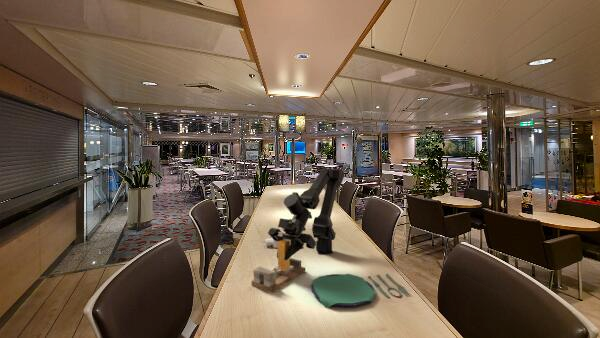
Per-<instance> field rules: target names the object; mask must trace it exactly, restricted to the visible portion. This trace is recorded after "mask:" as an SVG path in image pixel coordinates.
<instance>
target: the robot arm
mask: <svg viewBox="0 0 600 338" xmlns="http://www.w3.org/2000/svg"><path fill="white" fill-rule="evenodd" d="M344 178H345V172H344V171H343V170H342V169H341V168H320V170H319V173H318V175H317V176H316V178H315V179H314V181H313V182H312V184H311V186H310V187H309V188H308V189H306V190H304V191H303V192H301V195H300V194H299V193H298V192H295V191H292V193H291V194H289V195H287V196H286V197H285V198H284V200H283V205H284V206H285V207H286V208H287V211H289V213H290V214H291V215H293V216H292V219H291V218H289V219H287V218H286V219H285V218H279V221H278V226H277V228H276V227H271V228H269V230H268V232H267V234H268V236H269V237H270V238H271V237H272V239H273V240H275V241H281V240H287V239H288V240H291V244H290V247H289V249H288V251H287V253H286V255H285V258H284V259H285V260H287V259H289V258H292V256H293V255H294V254H296V253H297V252H299V251H300V250H303V249H304V248H305V247H304V245H306V248H307V249H313V250H314V249H315V251H316V252H317V254H318V255H324V254H326V255H328V254H334V252H333V241H334V240H335V239H336V232H335V230H334V228H333V224H334V223H333V222H332V219H331V217H332V212H333V208H334V204H335V199H336V195H337V190H338V188H339V187H340V186H341V185H342V183H343V180H344ZM325 187H326V188H325ZM324 189H325V192H324V196H323V200H322V204H321V209H320V213H319V215H318V216H315V217H314V219H313V216H312V212H311V211H309V210H316V209H317V208H318V205H319V203H320V195H321V194H322V192H323V190H324ZM309 219H311V220H312V219H313V223H312V227H311V231H312V235H311V234H309V233H304V232H306V230H307V229H306V225H307V223H308V221H309ZM280 228H281V229H282V231H283V232H282V231H281V229H280ZM315 239H316V241H315ZM276 258H277V259H278V250H277V254H276Z"/></svg>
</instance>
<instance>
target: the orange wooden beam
mask: <svg viewBox="0 0 600 338" xmlns="http://www.w3.org/2000/svg"><path fill="white" fill-rule="evenodd" d="M289 247H290V241H288V240H281V241H278V248H277V251H278V258H277V266H274V268H273V269H274V271H275V276H276V275H277V274H283V275H287V274H288V273H290V272H292V271H293V270H294V266H291V265H290V258H291V257H290V258H289V259H287V260H285V259H284V258H285V255H286V253H287V251H288V249H289Z"/></svg>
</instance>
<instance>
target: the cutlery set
mask: <svg viewBox="0 0 600 338" xmlns="http://www.w3.org/2000/svg"><path fill="white" fill-rule="evenodd" d="M376 277H377V278H378V279H379V280H380V281H381V282H382V283H383V284H385V286H386V287H387V291H388V293H390V295H392V296H394V297H396V298H397V297H401V296H402V295H404V296H405V297H412V294H410V293H409V292H408V291H407V289H406V287H405V286H402V285H401V284H398V282H396V281H395V279H393V277H391V275H390V274H389V273H385V277H386V278H387V279H389V281H390V282H392V284H394V285H395V286H396V287H398V288H397V289H396V288H395V287H392V286H391V287H390V285H389V284H388V283H387V281H386V280H385V279H384V278H383V277H382V276H381V275H380V274H376ZM368 279H370V280H371V281H372V282H373V283H374V285H375V286H376V288H378V289H379V291H380V293H381V294H382V295H384V296H385V297H386V298H388V299H391V296H390V295H389V294H388V293H387V292H386V291H385V290H384V289H383V288H382V287H381V284H380V283H378V282H376V280H375V279H373V277H371V276H370V275H368ZM310 289H311V293H312V294H313V295H314V296H315V297H316V298H318V299H319V302H320V304H322V305H323V306H325V307H326V308H330V307H333V305H335V306H340V307H355V306H361V305H365V304H367V303H368V302H369V303H372V302H373V301H374V299H375V298H377V293H376V290H375V289H374V286H373V285H372V284H371V283H370V282H369V281H367V280H366V279H364V278H363V277H362V276H357V275H355V274H351V273H345V274H344V273H343V274H342V273H340V274H339V273H338V274H337V273H336V274H334V273H331V274H326V275H319V276H318V277H317V278H314V279H313V280H312V281H311V285H310ZM390 291H395V292H397V293H398V296H397V295H395V294H393V293H392V292H390Z"/></svg>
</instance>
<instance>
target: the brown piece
mask: <svg viewBox="0 0 600 338" xmlns="http://www.w3.org/2000/svg"><path fill="white" fill-rule="evenodd" d="M290 265H291V266H294V270H293V271H292V272H290V273H288V274H287V275H283V274H277V275H276V276H275V271H274V268H273V269H270V268H267V267H264V266H258V267H256V268H254V269H253V279H252V280H251V286H253V287H255V288H257V289H261V290H263V291H267V292H270V293H274V292H276V291H277V290H279V289H280V288H282V287H283V286H284V285H287V284H289V282H291V281H293V280H295V279H296V278H297V277H299V276H301V275H302V274H304V273H305V272H306V267H305V266H302V260H301V259H300V260H299V259H295V258H292V257H290Z"/></svg>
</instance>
